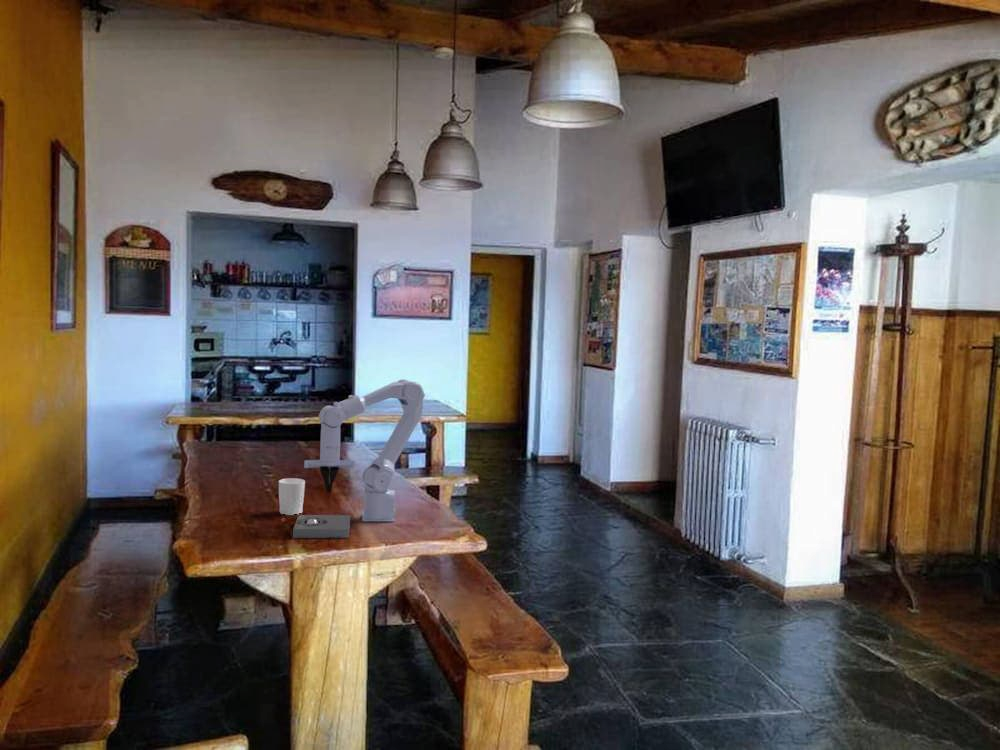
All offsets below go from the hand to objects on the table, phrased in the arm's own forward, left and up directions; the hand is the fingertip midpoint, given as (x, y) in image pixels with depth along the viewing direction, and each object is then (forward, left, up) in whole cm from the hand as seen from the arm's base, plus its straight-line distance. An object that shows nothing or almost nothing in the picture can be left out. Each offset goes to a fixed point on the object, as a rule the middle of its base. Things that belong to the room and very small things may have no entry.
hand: (328, 491), depth 222 cm
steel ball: (+4, +8, -8) cm, 12 cm away
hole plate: (+1, +8, -9) cm, 12 cm away
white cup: (+12, -12, -10) cm, 19 cm away
